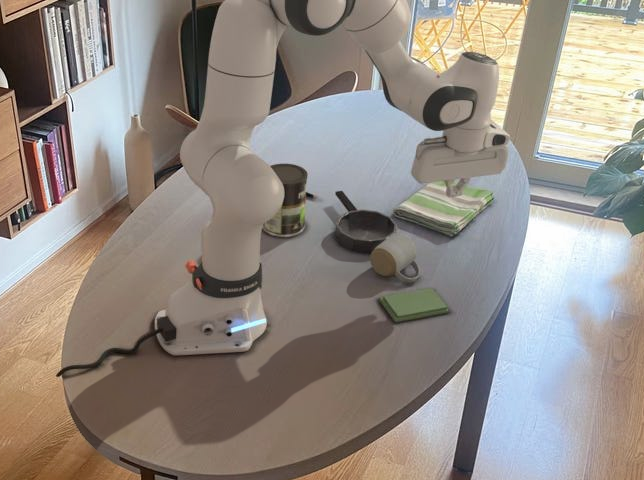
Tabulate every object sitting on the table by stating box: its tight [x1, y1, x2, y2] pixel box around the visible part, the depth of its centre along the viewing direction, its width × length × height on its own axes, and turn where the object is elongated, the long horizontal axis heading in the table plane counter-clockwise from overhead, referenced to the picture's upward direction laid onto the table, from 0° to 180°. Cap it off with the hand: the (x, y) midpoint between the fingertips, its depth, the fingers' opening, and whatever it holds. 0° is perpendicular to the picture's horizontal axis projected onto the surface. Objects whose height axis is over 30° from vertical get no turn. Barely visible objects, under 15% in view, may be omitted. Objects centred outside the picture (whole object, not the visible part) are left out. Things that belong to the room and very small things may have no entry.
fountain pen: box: [306, 191, 319, 199], centre depth 209 cm, size 14×1×2 cm, turn 56°
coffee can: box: [262, 163, 309, 238], centre depth 192 cm, size 10×10×14 cm
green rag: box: [379, 287, 450, 323], centre depth 171 cm, size 12×8×1 cm, turn 107°
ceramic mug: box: [369, 232, 421, 284], centre depth 178 cm, size 11×8×8 cm
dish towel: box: [392, 180, 495, 237], centre depth 202 cm, size 17×23×4 cm
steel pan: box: [334, 190, 398, 255], centre depth 195 cm, size 14×24×3 cm, turn 17°
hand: (453, 195), depth 173 cm, fingers closed
